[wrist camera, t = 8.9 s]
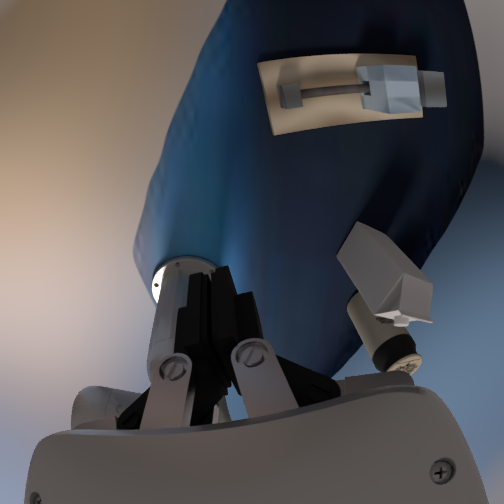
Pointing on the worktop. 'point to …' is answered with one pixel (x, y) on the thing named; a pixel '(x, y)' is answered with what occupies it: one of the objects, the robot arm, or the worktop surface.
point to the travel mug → (384, 339)
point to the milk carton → (385, 276)
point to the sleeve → (390, 88)
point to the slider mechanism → (333, 90)
